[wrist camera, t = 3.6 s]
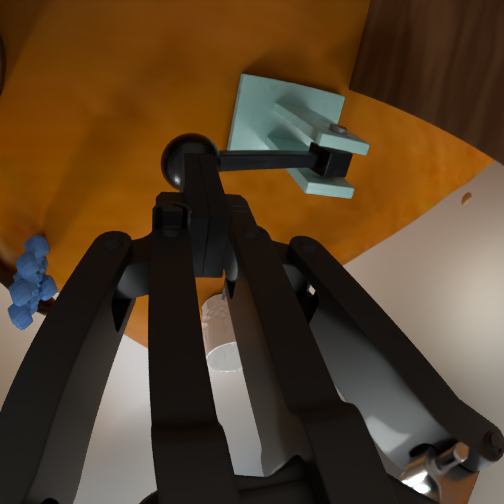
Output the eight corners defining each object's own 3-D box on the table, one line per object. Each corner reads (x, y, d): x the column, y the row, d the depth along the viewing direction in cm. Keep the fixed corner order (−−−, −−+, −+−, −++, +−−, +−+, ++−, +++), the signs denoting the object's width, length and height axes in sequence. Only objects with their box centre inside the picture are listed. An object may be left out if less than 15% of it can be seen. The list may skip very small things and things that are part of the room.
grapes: (62, 289, 40) (46, 353, 31) (25, 277, 37) (2, 338, 28) (74, 230, 35) (49, 295, 26) (30, 215, 32) (-5, 276, 23)
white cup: (255, 301, 50) (271, 351, 43) (224, 328, 53) (235, 376, 45) (219, 282, 46) (230, 335, 38) (188, 312, 49) (194, 364, 41)
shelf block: (348, 89, 32) (581, 228, 9) (372, -8, 24) (622, 28, 1) (416, 114, 35) (596, 239, 12) (439, 30, 27) (636, 106, 4)
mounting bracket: (225, 156, 34) (251, 218, 24) (241, 73, 28) (280, 89, 18) (318, 167, 38) (374, 226, 27) (339, 94, 32) (412, 127, 21)
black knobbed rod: (152, 181, 19) (170, 206, 16) (155, 127, 17) (175, 144, 14) (319, 170, 27) (348, 188, 25) (330, 133, 25) (361, 149, 22)
